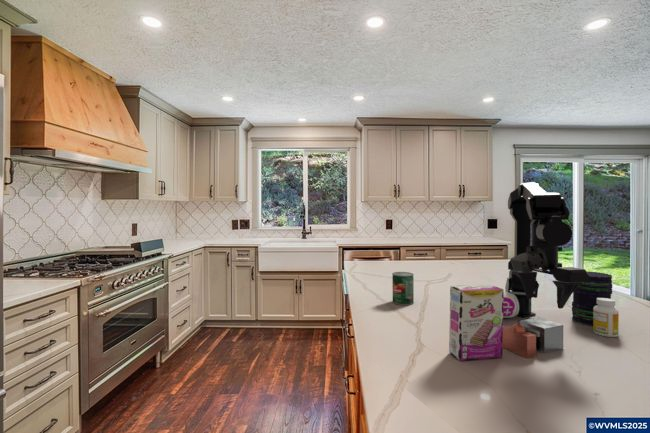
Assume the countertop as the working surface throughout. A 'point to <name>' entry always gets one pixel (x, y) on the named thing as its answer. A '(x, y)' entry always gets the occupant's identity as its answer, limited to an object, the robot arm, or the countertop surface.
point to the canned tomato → (403, 288)
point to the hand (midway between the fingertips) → (544, 303)
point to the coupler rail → (520, 340)
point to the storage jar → (590, 296)
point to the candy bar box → (476, 322)
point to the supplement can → (510, 305)
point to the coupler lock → (545, 333)
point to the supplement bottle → (605, 318)
